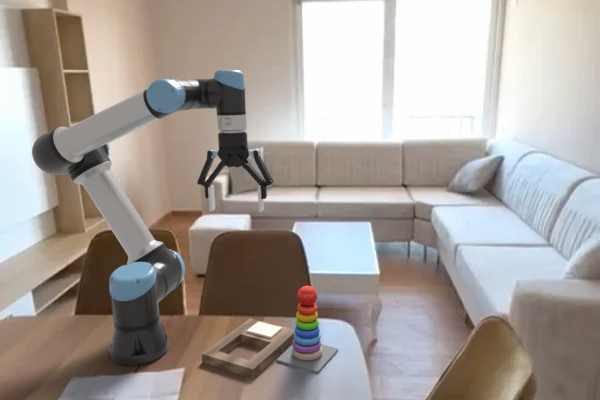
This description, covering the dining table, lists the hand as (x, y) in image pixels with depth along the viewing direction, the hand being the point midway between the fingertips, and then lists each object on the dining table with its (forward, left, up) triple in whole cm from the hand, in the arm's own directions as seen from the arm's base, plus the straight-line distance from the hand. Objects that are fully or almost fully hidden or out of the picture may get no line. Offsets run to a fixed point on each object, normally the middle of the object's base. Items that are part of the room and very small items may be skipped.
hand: (236, 210), depth 134 cm
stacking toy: (+22, -2, -36) cm, 42 cm away
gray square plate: (+22, -2, -37) cm, 43 cm away
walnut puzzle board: (+7, -6, -37) cm, 38 cm away
